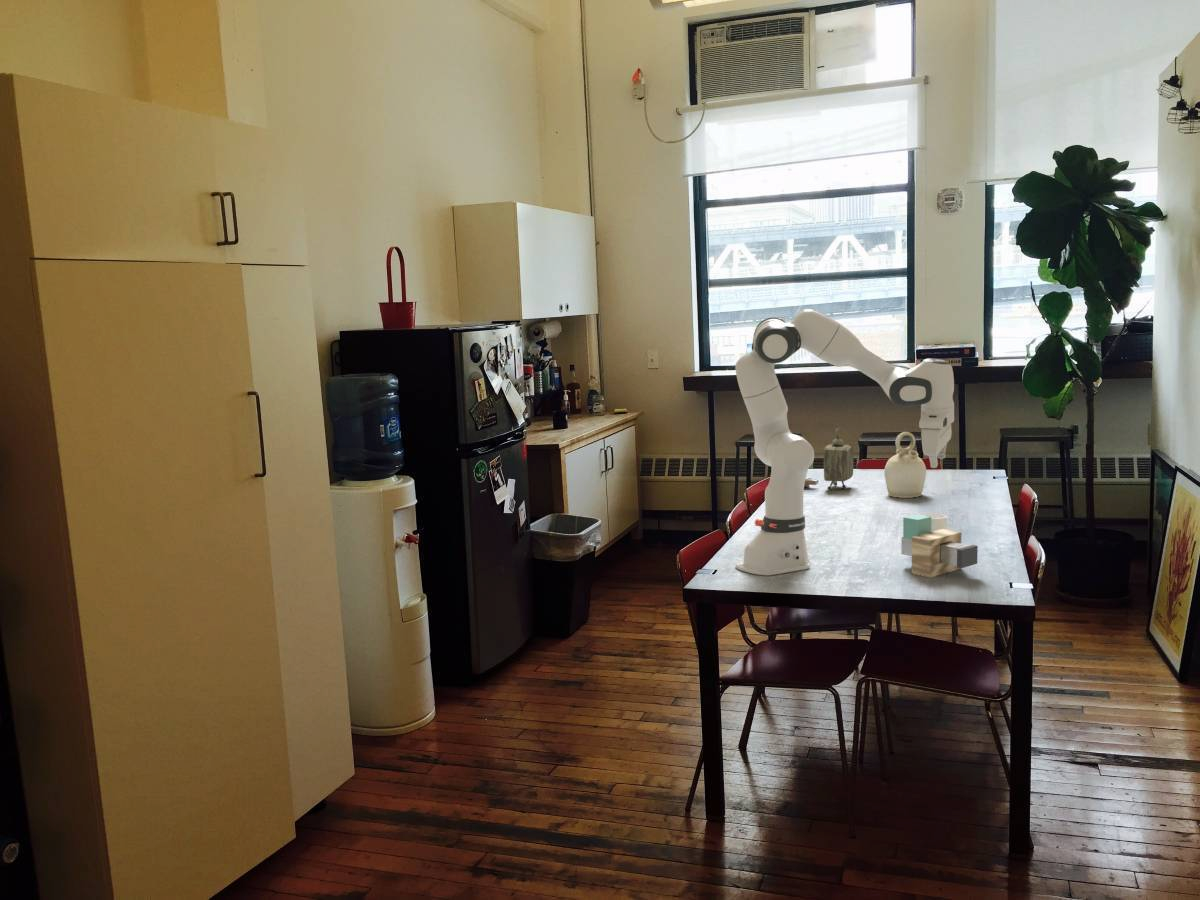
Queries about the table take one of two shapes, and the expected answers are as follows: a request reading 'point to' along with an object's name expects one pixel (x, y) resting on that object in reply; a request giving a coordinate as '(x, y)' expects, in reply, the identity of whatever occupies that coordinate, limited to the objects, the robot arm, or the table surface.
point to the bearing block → (932, 552)
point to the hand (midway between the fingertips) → (937, 462)
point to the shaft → (949, 553)
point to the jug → (905, 471)
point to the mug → (937, 521)
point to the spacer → (916, 525)
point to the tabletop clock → (838, 462)
